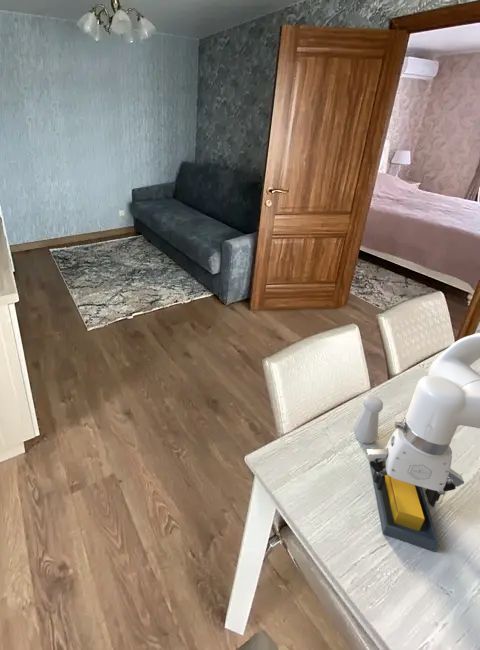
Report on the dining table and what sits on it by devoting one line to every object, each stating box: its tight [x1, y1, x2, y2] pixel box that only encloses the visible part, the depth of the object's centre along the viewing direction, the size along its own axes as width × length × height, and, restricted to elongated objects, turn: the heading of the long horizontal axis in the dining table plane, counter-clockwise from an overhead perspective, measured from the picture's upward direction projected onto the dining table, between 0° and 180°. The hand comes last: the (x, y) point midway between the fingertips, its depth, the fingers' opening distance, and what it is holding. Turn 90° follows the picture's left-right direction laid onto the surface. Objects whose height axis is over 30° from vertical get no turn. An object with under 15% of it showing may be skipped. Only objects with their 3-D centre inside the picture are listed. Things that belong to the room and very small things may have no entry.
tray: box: [369, 458, 441, 553], centre depth 75 cm, size 9×16×2 cm, turn 161°
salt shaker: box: [352, 394, 384, 445], centre depth 87 cm, size 6×6×13 cm
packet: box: [385, 467, 425, 531], centre depth 74 cm, size 11×4×4 cm, turn 161°
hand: (402, 491), depth 74 cm, fingers open, 9 cm apart
